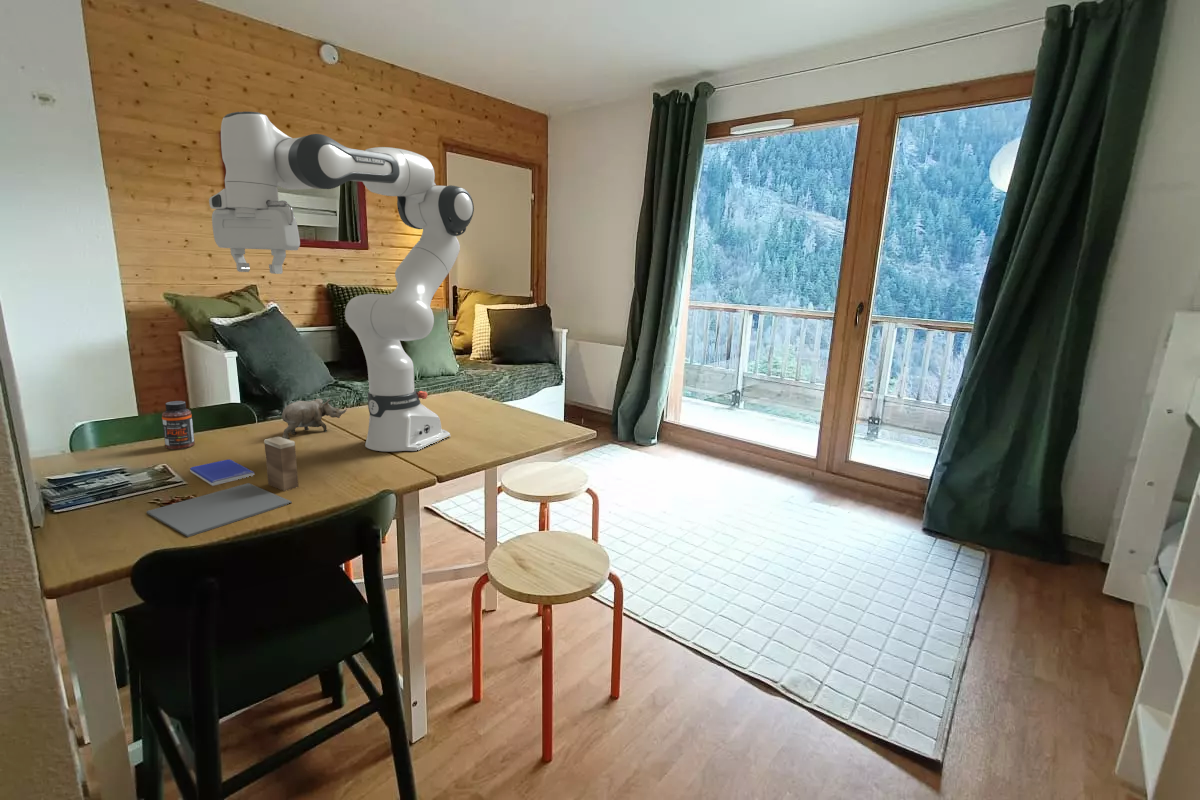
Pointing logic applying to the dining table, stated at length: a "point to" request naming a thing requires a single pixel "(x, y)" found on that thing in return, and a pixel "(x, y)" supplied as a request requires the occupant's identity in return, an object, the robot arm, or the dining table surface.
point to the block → (281, 463)
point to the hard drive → (221, 472)
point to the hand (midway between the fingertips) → (259, 272)
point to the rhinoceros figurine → (308, 415)
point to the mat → (217, 509)
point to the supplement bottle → (177, 426)
